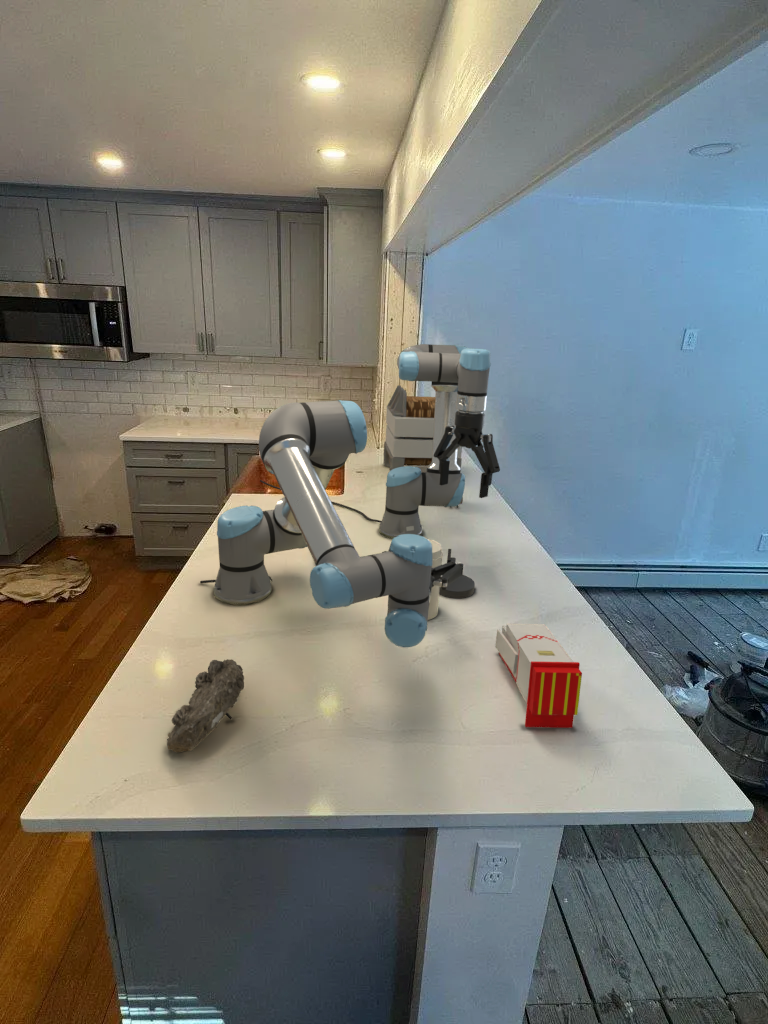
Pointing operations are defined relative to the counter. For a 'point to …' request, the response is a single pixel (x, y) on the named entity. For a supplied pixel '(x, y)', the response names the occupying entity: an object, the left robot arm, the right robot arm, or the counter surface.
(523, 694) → the toy
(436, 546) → the jar
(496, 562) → the counter surface
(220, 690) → the fossil
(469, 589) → the lid
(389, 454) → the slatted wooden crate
